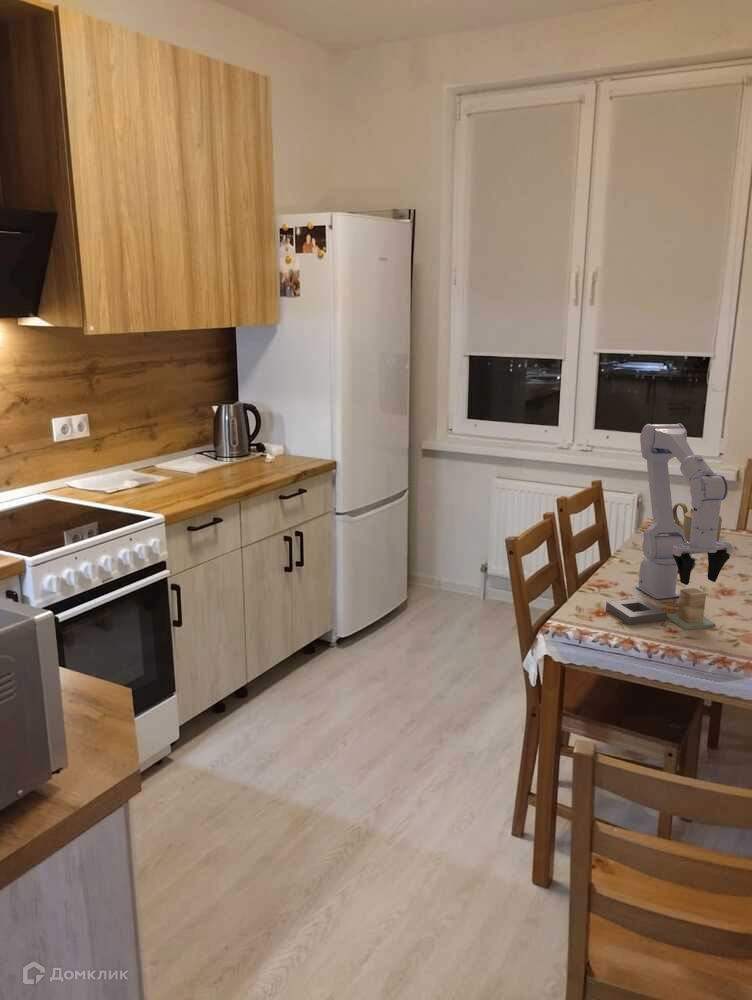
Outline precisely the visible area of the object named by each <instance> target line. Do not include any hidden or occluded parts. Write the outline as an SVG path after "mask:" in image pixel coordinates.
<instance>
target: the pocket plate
mask: <svg viewBox="0 0 752 1000" xmlns="http://www.w3.org/2000/svg"><path fill="white" fill-rule="evenodd" d="M605 610H606V611H607V612H609V613H611V614H612V615H614V616H615V617H617V618H618V617H619V618H618V619H620V620H622V621H623V622H624V621H625V623H626V624H627V623H628V625H629V626H633V624H634V625H640V624H641V625H642V624H648V623H657V622H664V621H667V614H668V612H667V611H665V610H664V609H663V608H660V607H658V606H656V605H655V604H654V603H651V602H650V601H648V600H646V599H644V598H643V597H636V598H629V599H628V598H627V599H619V600H611V601H606V605H605Z"/></svg>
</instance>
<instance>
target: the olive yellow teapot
mask: <svg viewBox="0 0 752 1000" xmlns="http://www.w3.org/2000/svg"><path fill="white" fill-rule="evenodd" d="M679 506H680V507H681V508H682V513H683V522H681V521H680V519H679V516H678V507H679ZM689 508H690V510H689V509H688V507H687V505H686V503H683V502H678V503H675V504H674V505H673V506H672V509H673V518H674V523H675V524H677V525H678V526H680V527H681V528H682V529H683V530H684V535H685V538H686V540H687V541H688V542H690V533H691V524H692V515H693V506H692V505H691V506H690V507H689ZM722 521H723V517H722V516H721V515H720V514H719V523H718V531H717V539H716V542H720V536H721V531H722V530H721V529H722ZM682 523H683V524H682Z"/></svg>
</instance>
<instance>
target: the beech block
mask: <svg viewBox="0 0 752 1000" xmlns="http://www.w3.org/2000/svg"><path fill="white" fill-rule="evenodd" d="M679 593H680V597H678V598H679V601H678V609H677V613H678V618H680V619H682V620H684V621H685V622H687V623H695V622H703V617H704V618H705V616H704V615H705V606H706V598H707V593H706V592H704V591H702V590H700V589H699V588H696V587H690V588H681V589H679Z"/></svg>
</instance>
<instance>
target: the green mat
mask: <svg viewBox="0 0 752 1000" xmlns="http://www.w3.org/2000/svg"><path fill="white" fill-rule="evenodd" d="M666 620H669V621H670V622H672V623H674V624H676V625H677V626H680V627H681V628H682V629H684V630H685V631H687V630H694V629H697V630H698V629H705V628H710V627H716V623H715V622H713V621H711V620H709V619H708V618H706V617H705V616H704V617H703V622H695V623H687V622H685V621H684V620H682V619H680V618H678V612H676V613H675V612H674V613H667V618H666Z"/></svg>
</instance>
